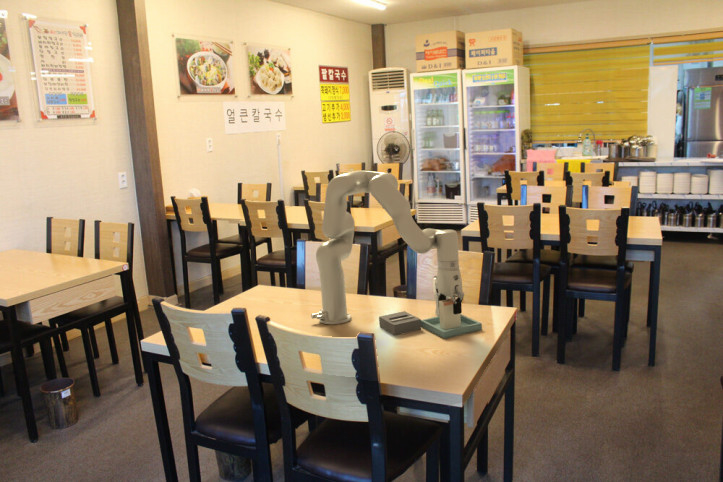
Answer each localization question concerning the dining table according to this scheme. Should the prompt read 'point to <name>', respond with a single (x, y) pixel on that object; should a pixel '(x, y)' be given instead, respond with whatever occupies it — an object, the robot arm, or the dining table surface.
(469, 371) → the dining table surface
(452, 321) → the cream rectangular block
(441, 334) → the tray
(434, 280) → the beer glass
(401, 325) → the block
